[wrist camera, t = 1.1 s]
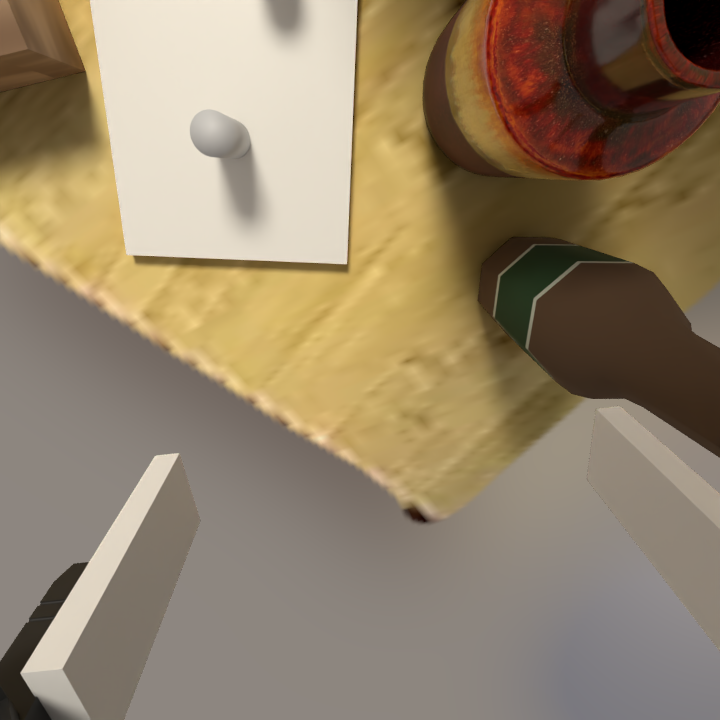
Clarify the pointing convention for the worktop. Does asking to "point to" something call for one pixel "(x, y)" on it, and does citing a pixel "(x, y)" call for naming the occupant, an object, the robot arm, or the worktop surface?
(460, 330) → the worktop surface
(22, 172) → the worktop surface
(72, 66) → the frame
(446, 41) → the vase
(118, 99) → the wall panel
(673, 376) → the beer bottle
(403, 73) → the worktop surface
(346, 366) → the worktop surface
